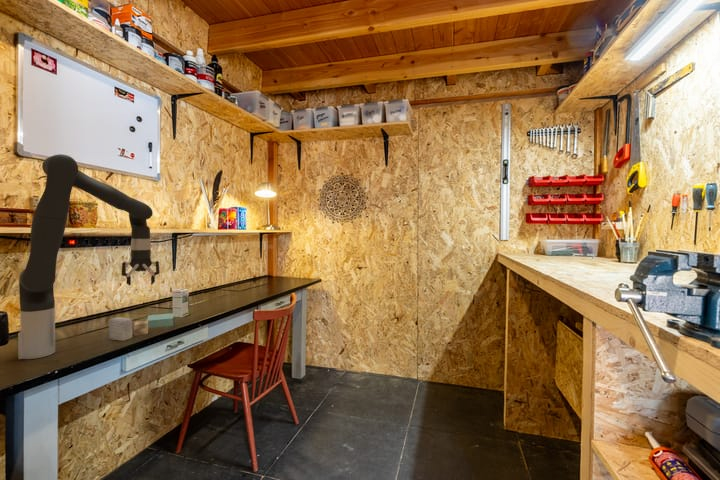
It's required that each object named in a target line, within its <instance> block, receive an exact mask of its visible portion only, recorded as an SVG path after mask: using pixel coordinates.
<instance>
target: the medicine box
mask: <svg viewBox="0 0 720 480" xmlns="http://www.w3.org/2000/svg"><path fill="white" fill-rule="evenodd" d="M108 338H109V340H112V341H113V340H114V341H123V342H125V341H127V340H130V339H133V318H130V317H122V316H121V317H120V316H117V317H113V318H110V319H108Z"/></svg>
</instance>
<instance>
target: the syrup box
mask: <svg viewBox="0 0 720 480" xmlns="http://www.w3.org/2000/svg"><path fill="white" fill-rule="evenodd" d="M189 296H190V289H189V288H178V289H174V290H172V313H173V318H184V317H185V316H189V315H190V298H189Z"/></svg>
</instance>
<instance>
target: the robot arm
mask: <svg viewBox="0 0 720 480" xmlns="http://www.w3.org/2000/svg"><path fill="white" fill-rule="evenodd" d="M41 165H42V171H43V172H44V174H45V175H46V179H45V180H46V181H45V188H44V191H43V193H42V195H41V197H40V198H39V200H38V203H37V205H36V208H35V210H34V213H33V215H32V216H33V217H32V222H31V226H30V252H29V256H28V260H27V264H26V266H25V268H24V269H23V270H22V271H21V272H20V275H19V277H18V278H19V280H18V283H19V287H18V288H19V293H18V294H19V310H20V311H19V314H20V315H19V317H20V331H19V332H18V334H17V342H18V343H17V345H18V346H17V349H18V351H17V352H18V353H17V354H18V360H32V359H33V360H34V359H39V358H40V359H41V358H44V357H48V356H51V355H53V354H55V353H56V310H55V309H56V302H55V291H54V283H55V282H56V277H57V276H56V275H57V272H56V270H57V259H58V253H59V250H60V248H61V245H62V241H63V238H64V234H65V232H66V228H67V221H68V217H69V216H68V215H69V210H70V201H71V193H72V190H73V187H75V188H77V189H79V190H81V191H83V192H85V193H87V194H89V195H91V196H93V197H94V198H96V199H99V200H100V201H102V202H104V203H106V204H107V205H110V206H111V207H113V208H115V209H117V210H120V211H123V212H127V213H128V220H129V224H130V228H131V241H130V261H129V262H127V261H123V262H122V263H121V276H122V277H125V278H126V284H127V285H128V286H132V276H131V275H132V274H133V273H134V272H145V271H146V272H148V273H149V274H150V284H151V285H153V284H155V281H156V276H157V275H160V262H159V260H156V261H152V260H151V259H152V255H151V254H152V243H151V228H150V227H149V226H148V224H147V220H149V219H151V217H152V216H153V210H152V208H151V206H149V205H148V204H146V203H144V202H142V201H140V200H138V199H135V198H133V197H130V195H127V194H126V193H124V192H122V191H121V190H119V189H117V188H115V187H114V186H112V185H109V184H107V183H104V182H103V181H100V180H98V179H95V178H93V177H91V176H90V175H87V174H85V173H84V172H82V171H81V170H80V169H79V165H78V163H77V161H76V160H75V159H74V158H73V157H71V156H70V155H67V154H62V153H61V154H60V153H59V154H54V155H52V156H49V157H47V158H45V159H44V161H43V162H42V164H41ZM152 265H153V266H154V267H155V272H154V271H153V269H152V268H151V266H152ZM129 266H130V267H131V270H130V271H129V272H128V273H127V272H126V271H127V267H129Z"/></svg>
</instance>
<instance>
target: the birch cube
mask: <svg viewBox="0 0 720 480" xmlns="http://www.w3.org/2000/svg"><path fill="white" fill-rule="evenodd" d="M148 333H149V328H148V321H147V320H140V321H134V324H133V336H143V335H148Z"/></svg>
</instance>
